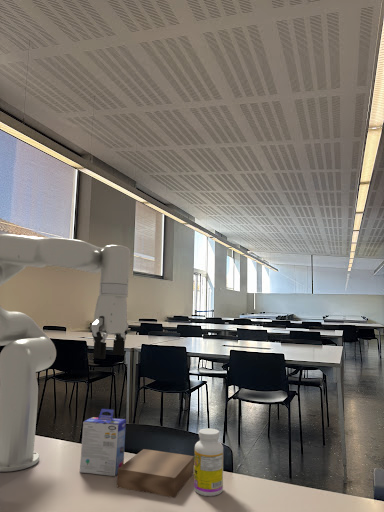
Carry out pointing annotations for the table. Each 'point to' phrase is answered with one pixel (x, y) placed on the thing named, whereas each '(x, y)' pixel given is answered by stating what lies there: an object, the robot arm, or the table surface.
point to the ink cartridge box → (103, 444)
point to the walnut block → (156, 472)
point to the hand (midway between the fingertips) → (109, 356)
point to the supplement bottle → (208, 463)
